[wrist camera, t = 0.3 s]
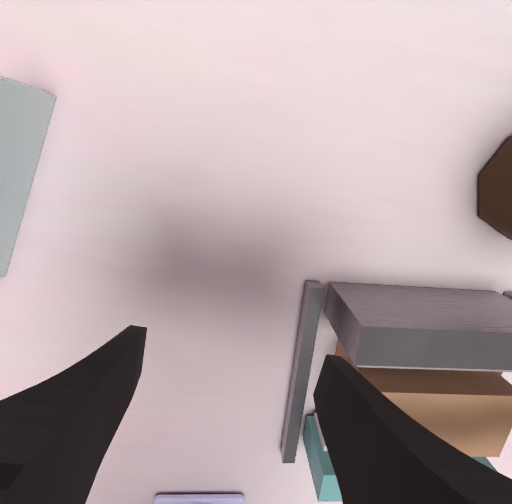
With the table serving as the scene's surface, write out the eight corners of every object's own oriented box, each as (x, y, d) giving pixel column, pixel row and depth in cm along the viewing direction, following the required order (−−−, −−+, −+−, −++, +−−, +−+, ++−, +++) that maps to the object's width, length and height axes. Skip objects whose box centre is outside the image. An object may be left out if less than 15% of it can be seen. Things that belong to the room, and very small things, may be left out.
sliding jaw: (445, 440, 28) (489, 499, 23) (303, 438, 26) (318, 501, 22) (454, 413, 27) (502, 469, 22) (307, 410, 26) (324, 469, 21)
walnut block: (441, 391, 26) (498, 456, 21) (327, 387, 25) (355, 455, 20) (458, 340, 25) (525, 396, 19) (338, 335, 24) (371, 392, 18)
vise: (457, 450, 28) (513, 525, 23) (280, 449, 27) (293, 529, 21) (516, 292, 24) (606, 336, 18) (305, 280, 22) (330, 324, 16)
